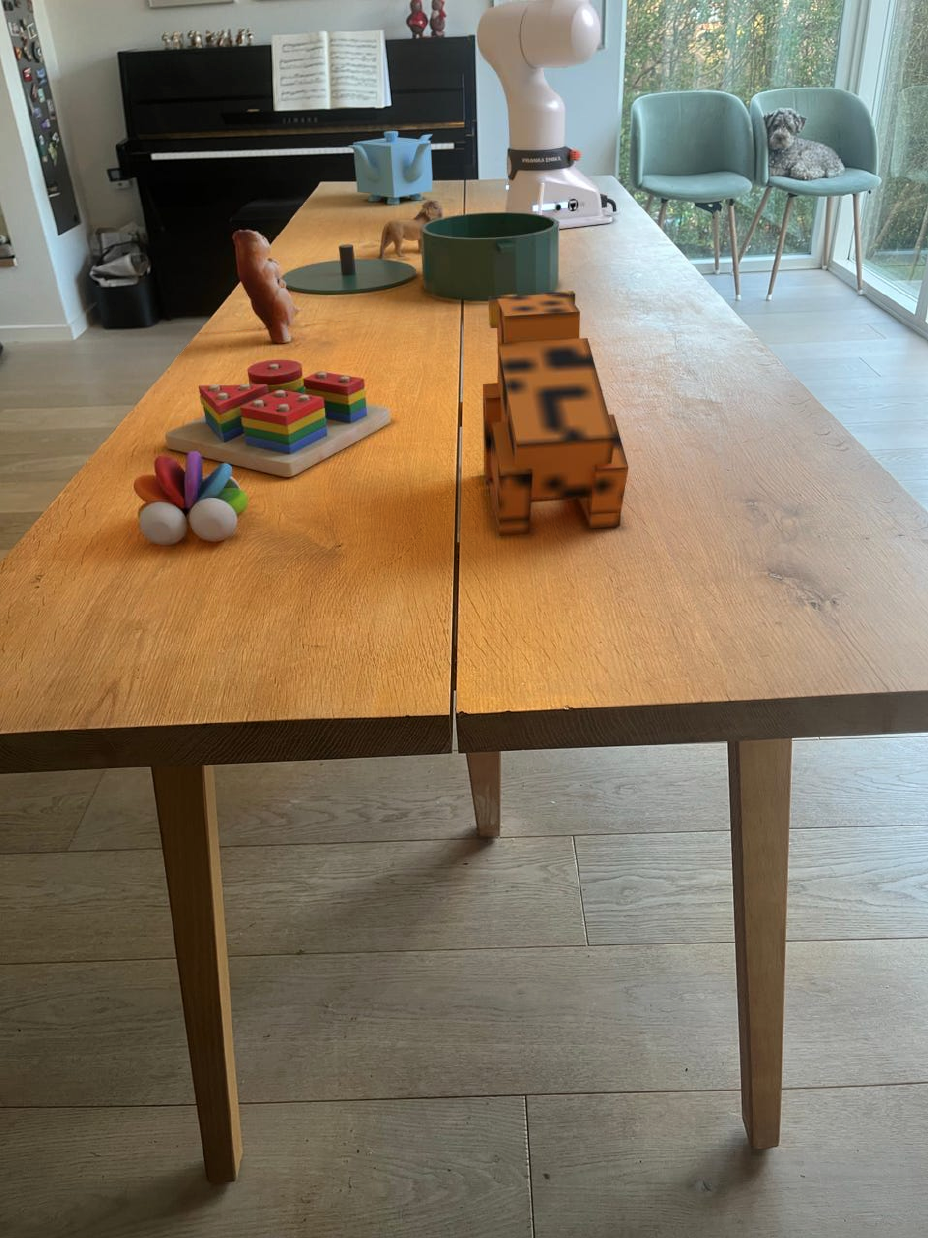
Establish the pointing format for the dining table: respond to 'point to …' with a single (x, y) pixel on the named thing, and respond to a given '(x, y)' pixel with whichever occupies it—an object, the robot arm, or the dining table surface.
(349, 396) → the shape sorter
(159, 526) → the rainbow fan rolling toy
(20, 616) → the dining table surface
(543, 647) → the dining table surface
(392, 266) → the tin lid
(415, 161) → the teakettle
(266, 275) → the figurine
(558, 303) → the toy animal
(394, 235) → the lion figurine
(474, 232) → the tin
